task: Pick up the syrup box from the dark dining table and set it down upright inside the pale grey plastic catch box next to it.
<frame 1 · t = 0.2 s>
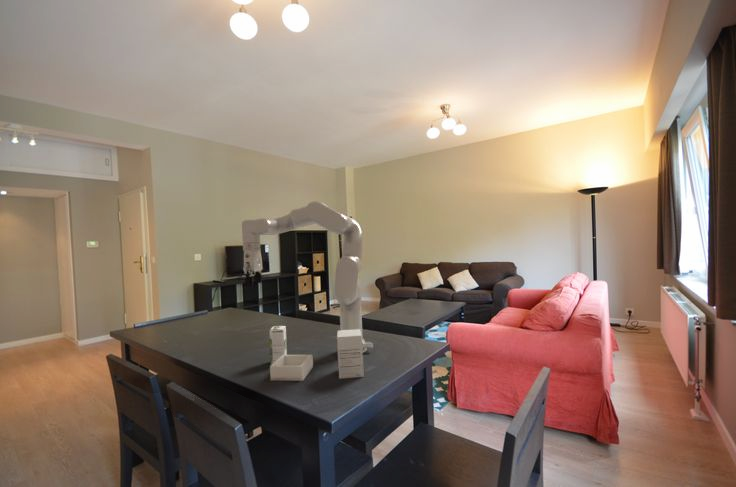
hand: (253, 284, 151), 31 cm above the table, tool pointing down, fingers open, 9 cm apart
syrup box: (279, 363, 136), on the table
catch box: (292, 373, 123), on the table
supplement box: (351, 373, 121), on the table
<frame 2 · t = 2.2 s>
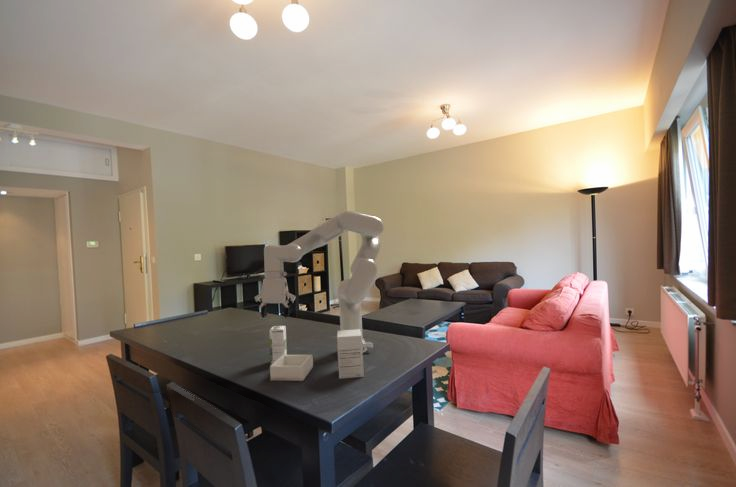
hand: (275, 316, 135), 19 cm above the table, tool pointing down, fingers open, 9 cm apart
nothing on the table moved.
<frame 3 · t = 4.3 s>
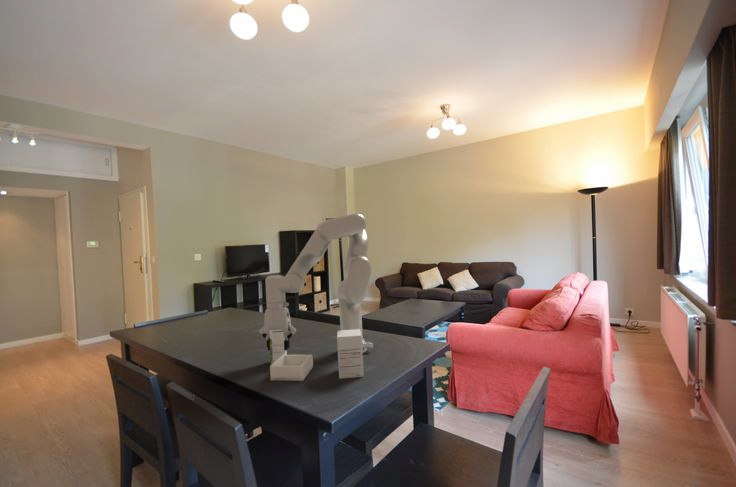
hand: (278, 348, 136), 6 cm above the table, tool pointing down, fingers closed on syrup box, 6 cm apart
syrup box: (279, 363, 136), on the table, touching gripper
everything else where it was.
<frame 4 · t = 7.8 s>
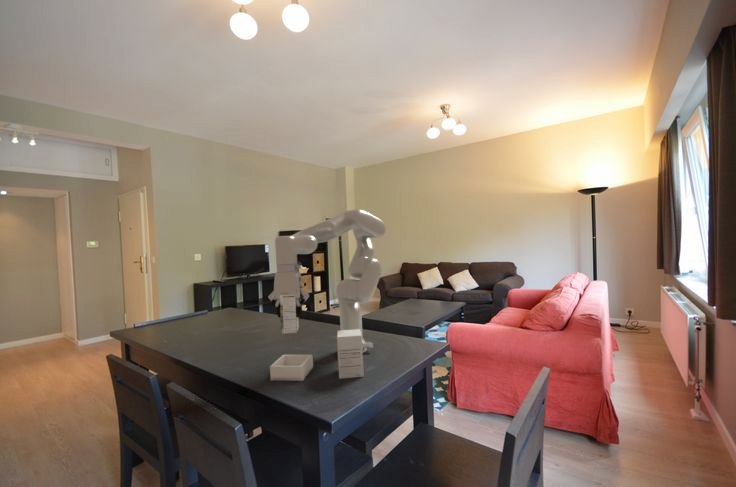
hand: (289, 316, 124), 22 cm above the table, tool pointing down, fingers closed on syrup box, 6 cm apart
syrup box: (290, 331, 124), point 16 cm above the table, touching gripper
everything else where it was.
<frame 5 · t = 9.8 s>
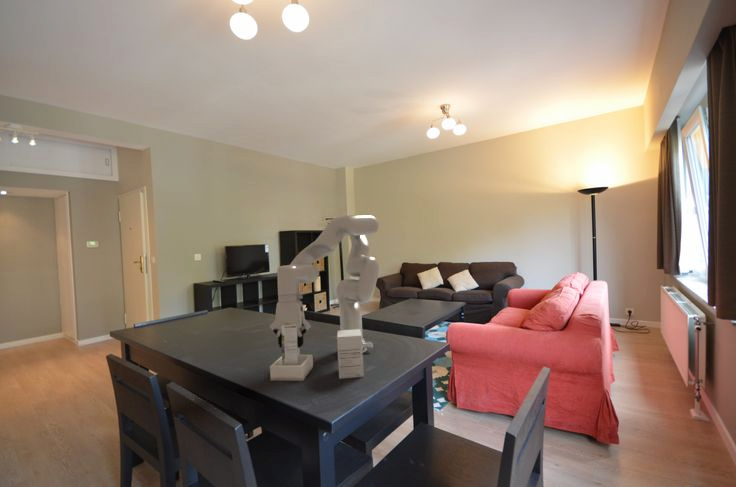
hand: (291, 346, 123), 10 cm above the table, tool pointing down, fingers closed on syrup box, 6 cm apart
syrup box: (291, 361, 123), point 5 cm above the table, touching gripper
everything else where it was.
when the fingers open (8 cm above the table, at t = 11.3 s): syrup box drops 1 cm, resting on catch box.
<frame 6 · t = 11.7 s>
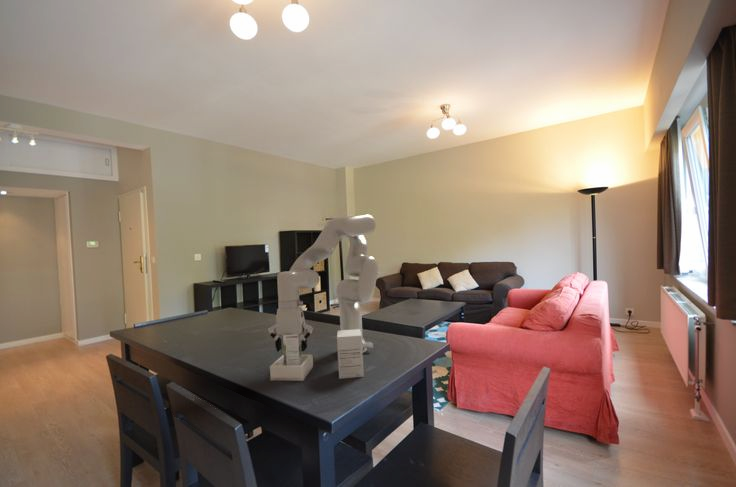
hand: (291, 350, 123), 9 cm above the table, tool pointing down, fingers open, 9 cm apart
syrup box: (293, 371, 124), point 1 cm above the table, touching catch box
everything else where it was.
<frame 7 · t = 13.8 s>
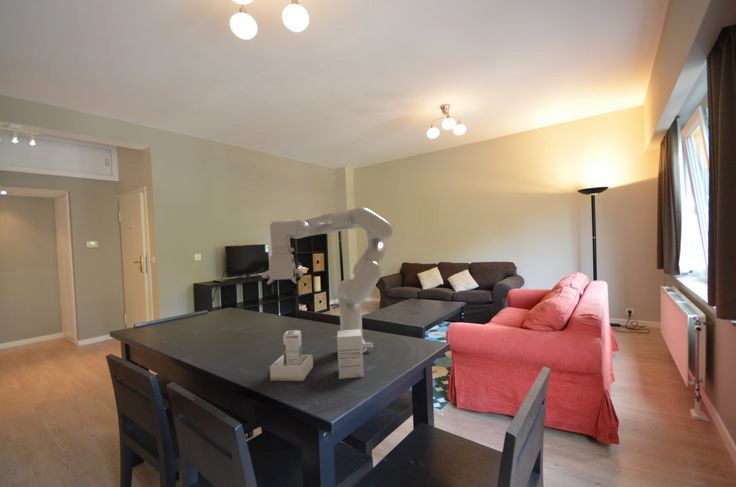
hand: (283, 293, 135), 29 cm above the table, tool pointing down, fingers open, 9 cm apart
nothing on the table moved.
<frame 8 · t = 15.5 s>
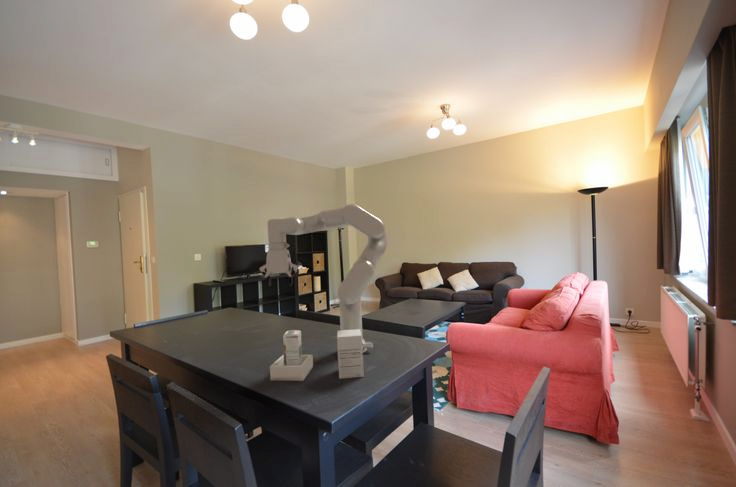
hand: (279, 286, 145), 30 cm above the table, tool pointing down, fingers open, 9 cm apart
nothing on the table moved.
at the end: syrup box inside the target area on the catch box (0.4 cm from its centre), point 0.8 cm above the catch box's base; syrup box tilted 0°; the gripper is holding nothing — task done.
